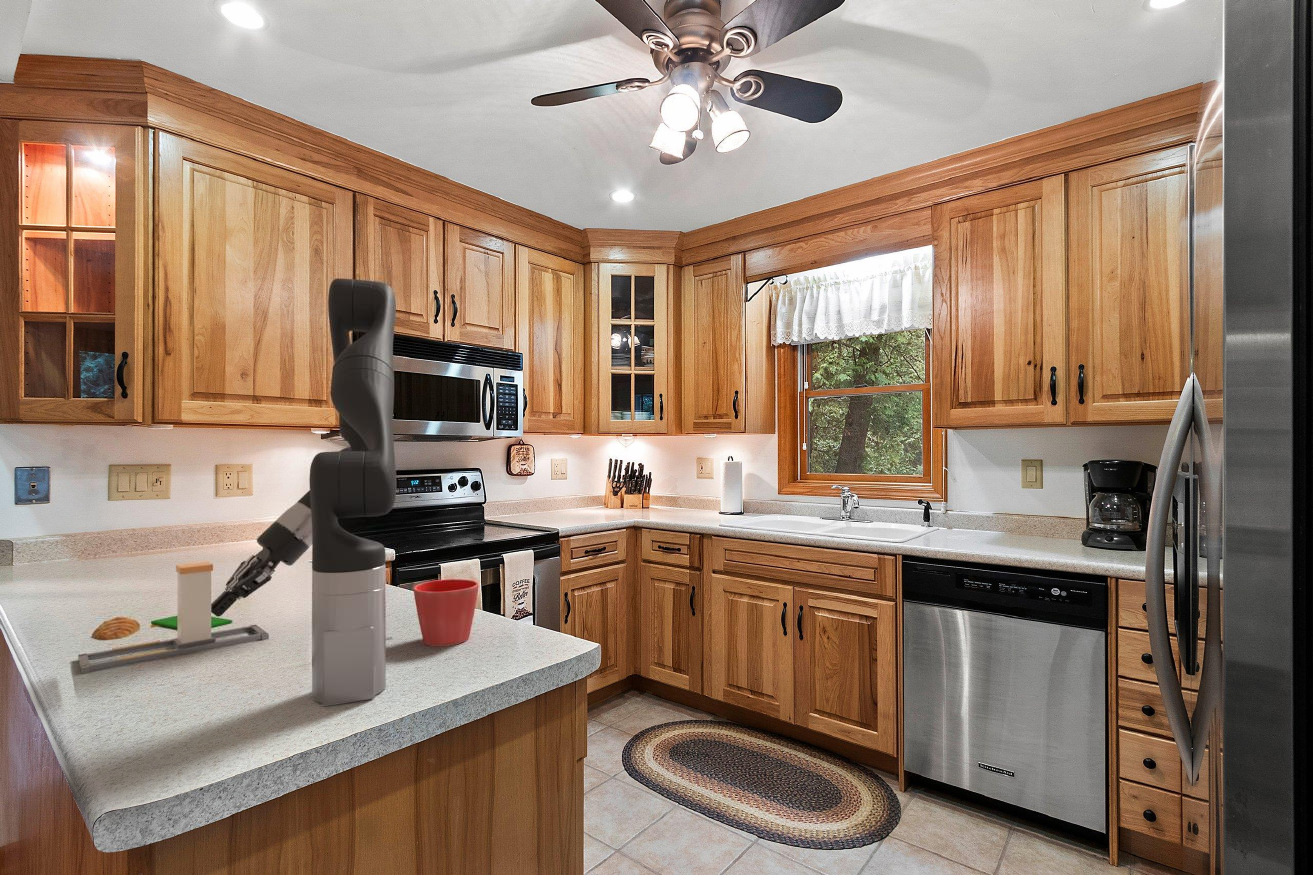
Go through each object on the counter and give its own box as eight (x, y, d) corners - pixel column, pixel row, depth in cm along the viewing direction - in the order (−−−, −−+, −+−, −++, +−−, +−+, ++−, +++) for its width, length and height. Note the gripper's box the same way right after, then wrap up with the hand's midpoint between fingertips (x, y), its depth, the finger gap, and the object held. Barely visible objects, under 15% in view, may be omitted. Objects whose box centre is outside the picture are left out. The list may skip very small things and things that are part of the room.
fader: (209, 639, 110) (209, 561, 111) (215, 645, 107) (215, 564, 107) (173, 646, 107) (173, 565, 107) (178, 652, 103) (178, 568, 104)
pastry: (139, 645, 113) (139, 623, 113) (88, 653, 109) (88, 630, 109) (140, 633, 121) (140, 613, 121) (92, 640, 117) (92, 619, 117)
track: (255, 636, 117) (255, 623, 117) (268, 646, 110) (268, 632, 110) (78, 668, 100) (78, 653, 100) (81, 683, 94) (81, 666, 94)
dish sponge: (192, 642, 115) (192, 629, 115) (149, 633, 121) (149, 620, 121) (233, 632, 121) (233, 619, 122) (190, 624, 128) (190, 612, 128)
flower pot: (482, 644, 110) (482, 587, 111) (414, 652, 106) (414, 593, 107) (475, 628, 120) (475, 576, 121) (413, 635, 116) (412, 581, 117)
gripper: (267, 517, 120) (186, 594, 112) (287, 522, 111) (201, 606, 102) (298, 543, 124) (223, 619, 115) (320, 549, 114) (240, 633, 106)
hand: (212, 613), depth 109 cm, fingers closed
